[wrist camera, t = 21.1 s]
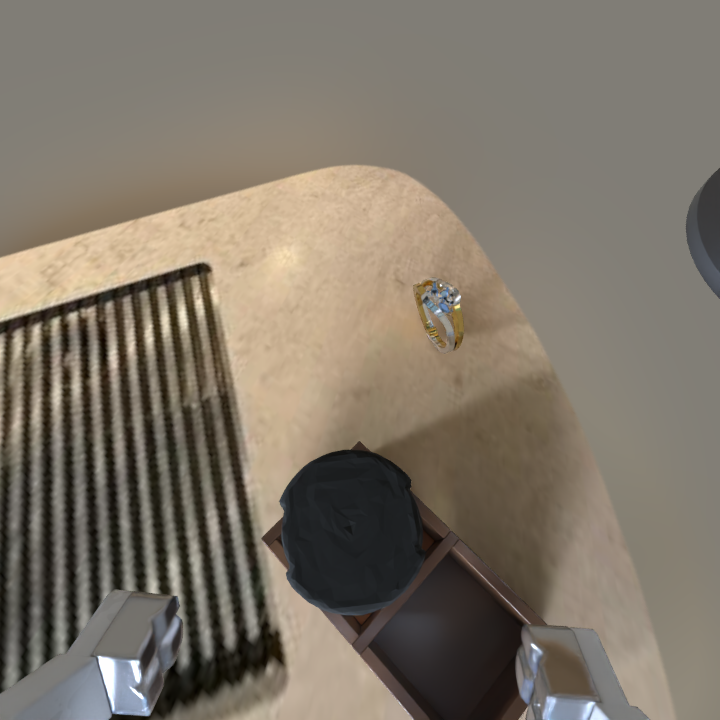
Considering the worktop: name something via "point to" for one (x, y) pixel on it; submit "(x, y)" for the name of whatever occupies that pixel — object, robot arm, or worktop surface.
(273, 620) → the worktop surface
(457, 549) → the divided wooden tray
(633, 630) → the worktop surface
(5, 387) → the worktop surface
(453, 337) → the ring
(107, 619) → the robot arm
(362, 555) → the spray can
